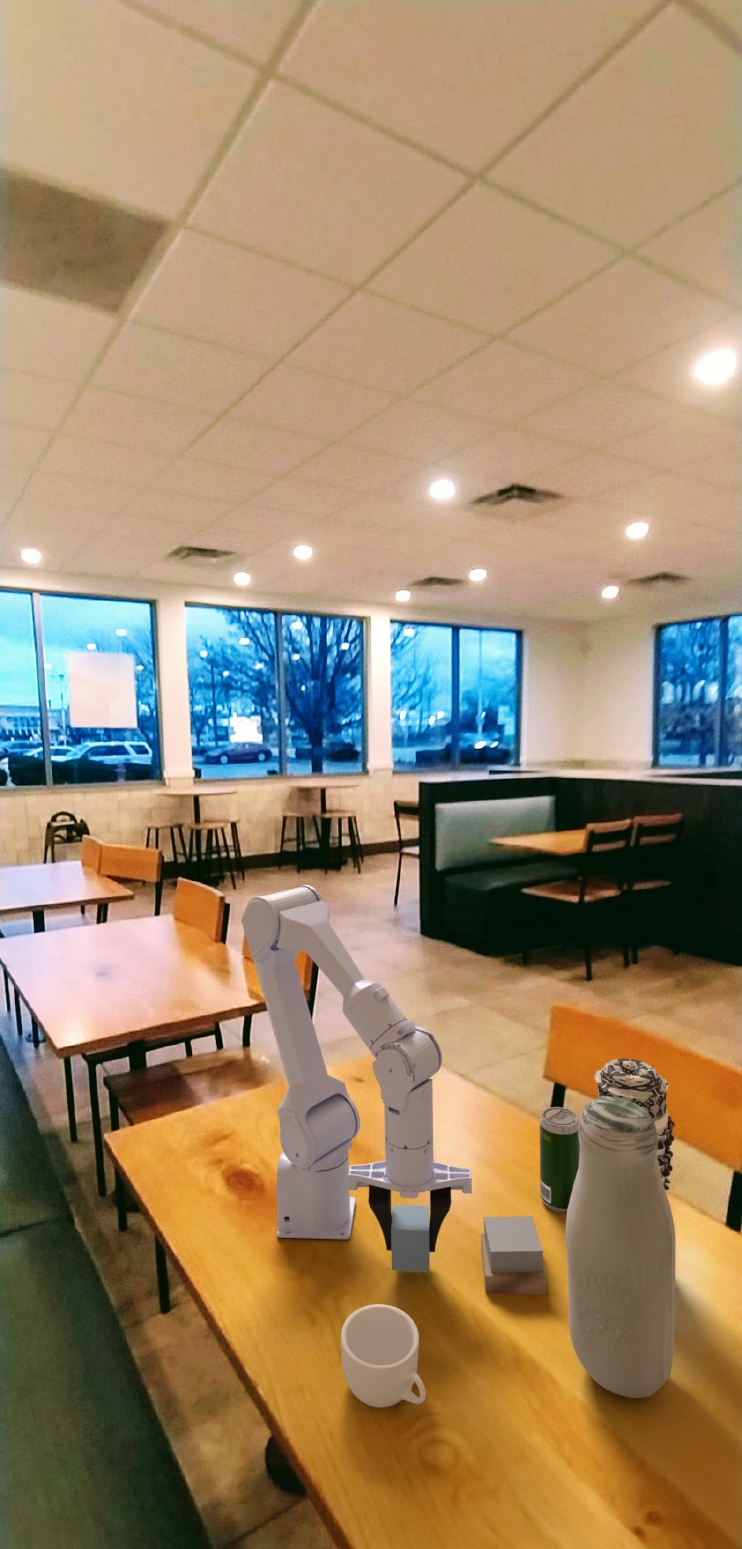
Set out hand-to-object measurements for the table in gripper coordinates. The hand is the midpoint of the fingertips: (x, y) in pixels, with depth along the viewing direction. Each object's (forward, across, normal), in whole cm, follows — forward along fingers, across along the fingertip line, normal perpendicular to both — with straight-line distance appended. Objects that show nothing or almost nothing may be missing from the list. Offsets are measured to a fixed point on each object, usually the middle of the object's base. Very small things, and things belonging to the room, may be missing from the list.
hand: (410, 1245), depth 87 cm
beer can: (+3, +20, +14) cm, 25 cm away
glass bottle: (+3, +21, -13) cm, 25 cm away
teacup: (+4, -2, -16) cm, 17 cm away
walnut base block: (+4, +12, +1) cm, 13 cm away
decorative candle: (+3, +26, +1) cm, 26 cm away
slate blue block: (+2, 0, 0) cm, 2 cm away
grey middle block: (+1, +12, +1) cm, 12 cm away
